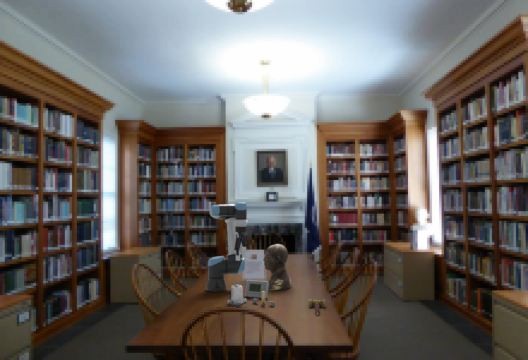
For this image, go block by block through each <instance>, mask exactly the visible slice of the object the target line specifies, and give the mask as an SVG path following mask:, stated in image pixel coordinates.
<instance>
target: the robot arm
mask: <svg viewBox="0 0 528 360" xmlns="http://www.w3.org/2000/svg"><path fill="white" fill-rule="evenodd" d="M247 206H248V205H247V202H245V201H244V202H242V201H238V202H235V203H226V204H225V203H223V204H221V203H219V204H214V205H213V204H212V205H211V206H210V208H209V211H208V212H209V215H210V217H212V218H213V219H216V220H224V222H225V223H226V226H227V230H226V231H227V246H228V253H227V255H226V257H225V256H224V255H220V256H219V255H217V256H213V257H211V258H209V259H208V264H207V266H208V269H207V271H208V272H207V273H208V278H207V281H206V286H205V290H206V291H207V292H212V293H217V292H219V293H220V292H225V291H227V290H228V286H227V283H226V279H225V275H239V274H243V273H244V272H245V265H246V258H245V257H247V247H248V241H247V235H246V234H247V230H248V228H247V225H248V219H247V218H248V216H247V215H248V212H247V211H248V207H247Z"/></svg>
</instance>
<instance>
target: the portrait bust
mask: <svg viewBox="0 0 528 360" xmlns="http://www.w3.org/2000/svg"><path fill="white" fill-rule="evenodd" d="M288 257H289V252H288V249H287V247H286V246H284V245H283V244H280V243H276V244H272V245H270V246H268V247H267V249H266V250H265V256H263V261H264V267H265V269H266V270H268V271H269V272H270V276H269V278H268V280H267V281H268V282H269V287H268V291H282V290H283V289H284V290H287V289H290V288H291V287H292V280H291V276H290V274H289V272H288V269H287V268H288V267H286V264H287V261H288Z"/></svg>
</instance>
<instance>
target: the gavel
mask: <svg viewBox="0 0 528 360" xmlns="http://www.w3.org/2000/svg"><path fill="white" fill-rule="evenodd" d="M307 302H308V308H312V307H313V308H314V311H315V313H314V314H315V315H316V316H319V315H320V312H321V311H320V308H326V299H321V300H319V299H310V298H308V301H307Z"/></svg>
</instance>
